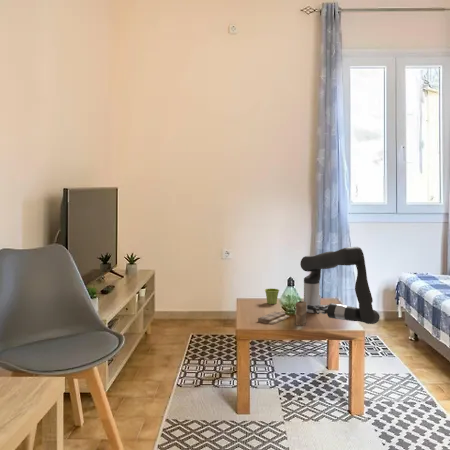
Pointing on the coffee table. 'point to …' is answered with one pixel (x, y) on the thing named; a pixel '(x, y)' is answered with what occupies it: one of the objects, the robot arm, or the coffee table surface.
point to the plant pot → (271, 295)
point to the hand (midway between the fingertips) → (307, 306)
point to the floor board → (273, 317)
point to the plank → (301, 313)
